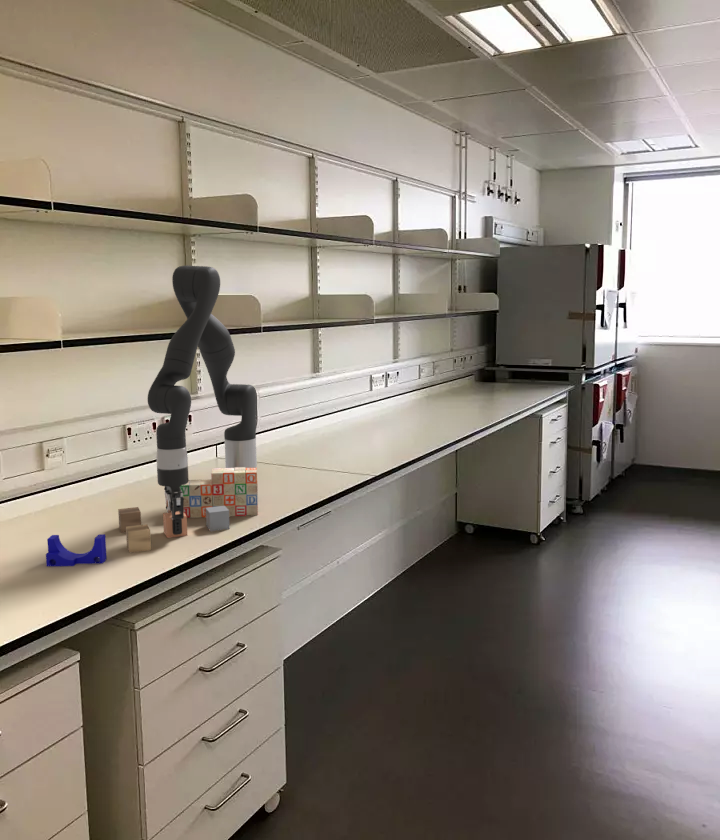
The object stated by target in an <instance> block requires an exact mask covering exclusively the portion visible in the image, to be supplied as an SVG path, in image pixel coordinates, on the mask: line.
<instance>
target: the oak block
mask: <svg viewBox="0 0 720 840" xmlns="http://www.w3.org/2000/svg"><path fill="white" fill-rule="evenodd" d="M125 533H126V534H125V535H126V548H127V549H128V553H131V554H132V553H138V552H139V553H140V552H147V551H151V550H152V542H151V541H152V540H151V529H150V527H149V525H148V523H147V524H141V525H137V526H128V527H126V532H125Z"/></svg>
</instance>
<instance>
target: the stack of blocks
mask: <svg viewBox="0 0 720 840" xmlns="http://www.w3.org/2000/svg"><path fill="white" fill-rule="evenodd" d="M210 474H211V479H189V481H188V483H187V484H185V485H181V486H180V489H181V491H183V498H184V513H185V514H186V516H187V519H188V518H190V519H194V518H195V519H196V518H197V519H198V518H206V508H208V507H217V506H225V507H226V508H227V509H228V510H229V517H247V516H246V515H251V516H258V515H259V514H258V513H259V509H258V508H259V507H258V505H259V503H258V502H259V500H258V499H259V497H258V489H259V488H258V467H257V468H245V467H235V468H226V467H224V468H223V467H222V468H219V467H218V468H217V467H216V468H215V467H214V468H211V473H210Z"/></svg>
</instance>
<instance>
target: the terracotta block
mask: <svg viewBox="0 0 720 840" xmlns="http://www.w3.org/2000/svg"><path fill="white" fill-rule="evenodd" d="M176 514H179V511H178V512H175V515H176ZM162 516H163V517H162V518H163V519H162V521H163V533H164V535H165V536H166V538H167V539H168V538H176V537H177V538H178V537H183V536H188V518H187V516H186V514H185V513H184V518H183V519H181V520H182V533H181V534H177V535H174V534H173V527H172V519H171V517H172V516H171V512H170V513H168V512H164V513H162Z"/></svg>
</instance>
